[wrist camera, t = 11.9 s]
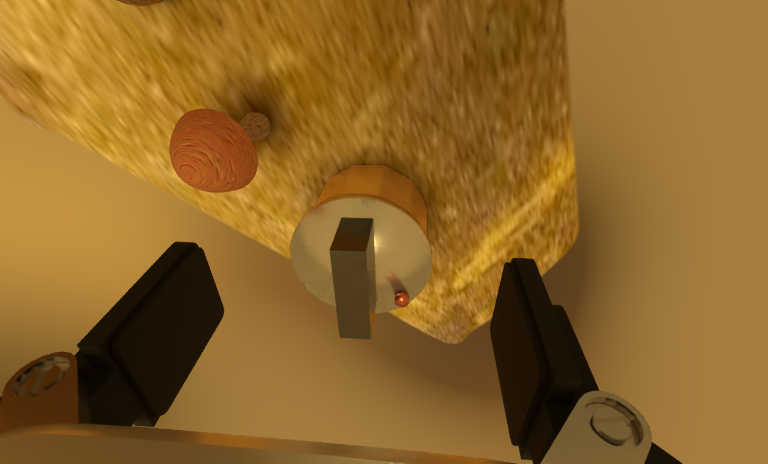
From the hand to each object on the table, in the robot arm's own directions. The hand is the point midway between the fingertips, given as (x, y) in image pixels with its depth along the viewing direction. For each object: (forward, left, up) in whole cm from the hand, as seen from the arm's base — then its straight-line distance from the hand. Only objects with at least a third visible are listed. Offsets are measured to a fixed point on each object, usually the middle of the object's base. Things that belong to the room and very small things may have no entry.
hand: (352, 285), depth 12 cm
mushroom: (+4, -17, -33) cm, 37 cm away
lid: (+16, -4, -25) cm, 30 cm away
